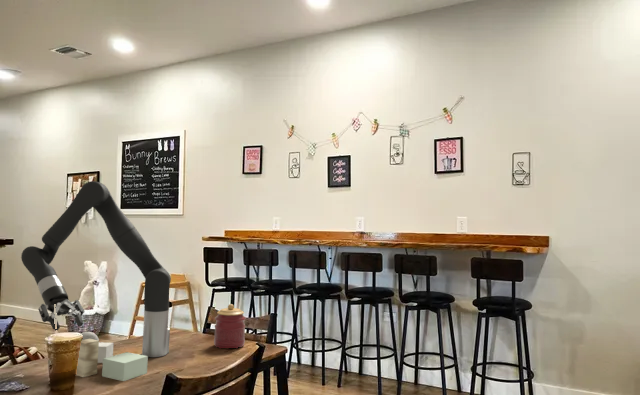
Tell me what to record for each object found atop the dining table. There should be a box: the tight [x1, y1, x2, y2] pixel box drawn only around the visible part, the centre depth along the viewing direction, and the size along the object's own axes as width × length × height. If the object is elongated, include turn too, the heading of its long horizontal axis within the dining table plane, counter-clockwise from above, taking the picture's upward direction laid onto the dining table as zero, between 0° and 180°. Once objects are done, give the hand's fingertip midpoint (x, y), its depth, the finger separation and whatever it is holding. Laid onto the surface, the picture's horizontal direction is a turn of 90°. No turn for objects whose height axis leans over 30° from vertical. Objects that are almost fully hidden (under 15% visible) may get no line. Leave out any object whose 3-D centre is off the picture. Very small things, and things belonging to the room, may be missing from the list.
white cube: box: [98, 341, 114, 364], centre depth 178 cm, size 6×6×6 cm
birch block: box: [76, 339, 100, 378], centre depth 162 cm, size 5×5×11 cm
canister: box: [213, 303, 247, 349], centre depth 206 cm, size 13×13×18 cm
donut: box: [79, 331, 100, 342], centre depth 180 cm, size 10×3×10 cm, turn 138°
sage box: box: [101, 351, 149, 382], centre depth 163 cm, size 10×10×6 cm
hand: (69, 327), depth 168 cm, fingers open, 8 cm apart
